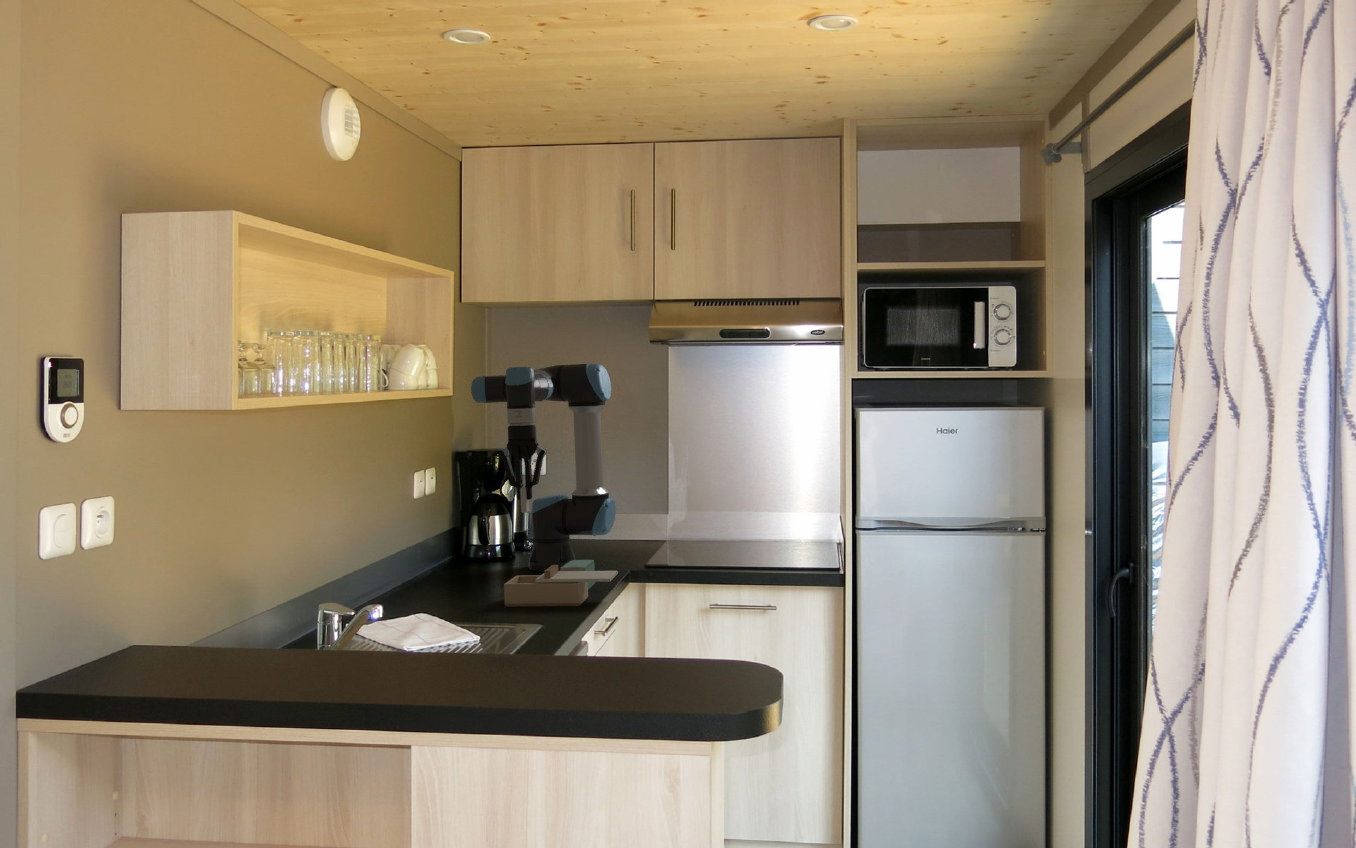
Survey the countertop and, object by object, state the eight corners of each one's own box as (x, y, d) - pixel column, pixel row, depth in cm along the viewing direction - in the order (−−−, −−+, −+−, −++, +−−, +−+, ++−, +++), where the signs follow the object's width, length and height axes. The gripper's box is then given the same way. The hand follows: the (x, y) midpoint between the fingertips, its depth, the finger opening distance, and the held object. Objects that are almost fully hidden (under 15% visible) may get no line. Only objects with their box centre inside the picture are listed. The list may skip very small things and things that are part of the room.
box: (595, 583, 297) (594, 558, 297) (586, 593, 284) (584, 567, 283) (571, 584, 298) (570, 559, 298) (560, 594, 284) (559, 567, 284)
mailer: (517, 597, 281) (516, 575, 281) (588, 596, 279) (587, 574, 278) (504, 606, 269) (503, 584, 269) (578, 606, 267) (578, 583, 267)
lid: (545, 574, 279) (545, 564, 279) (617, 573, 277) (617, 563, 277) (535, 582, 268) (535, 571, 268) (610, 581, 266) (609, 570, 266)
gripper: (494, 425, 270) (497, 514, 271) (542, 424, 268) (545, 513, 269) (502, 424, 277) (505, 510, 278) (548, 423, 276) (552, 509, 277)
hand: (525, 511), depth 274 cm, fingers closed
